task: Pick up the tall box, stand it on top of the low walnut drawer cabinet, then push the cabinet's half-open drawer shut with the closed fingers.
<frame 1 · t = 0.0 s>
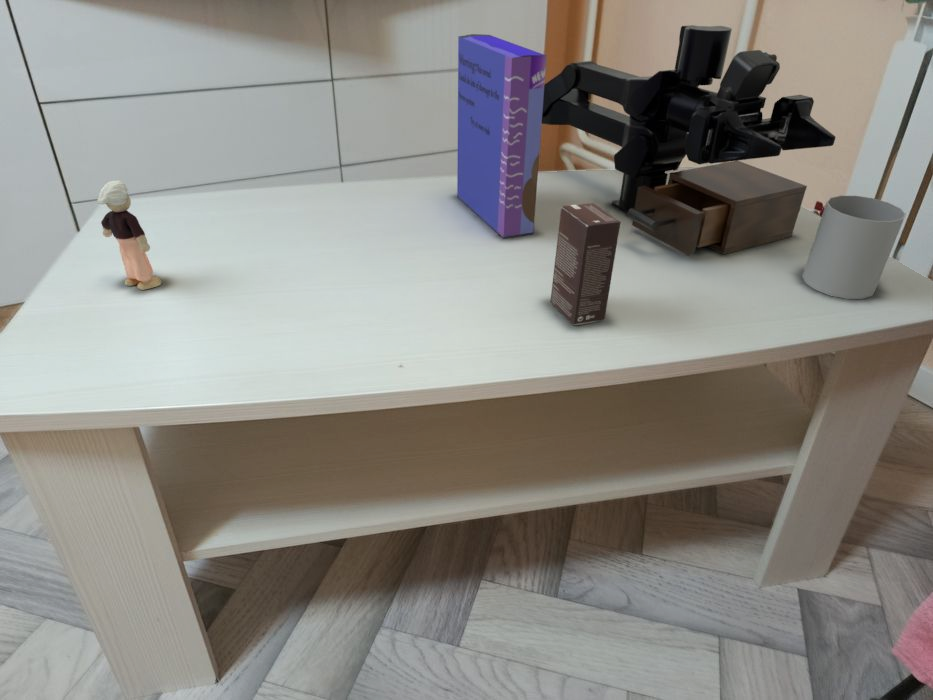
hand: (807, 146, 77), 17 cm above the table, tool horizontal, fingers open, 9 cm apart
cup: (837, 284, 84), on the table
box: (577, 312, 77), on the table
drawer: (684, 215, 92), point 4 cm above the table, slide at 5.0 cm
grandmother figurine: (140, 283, 81), on the table
cabinet: (724, 229, 98), on the table
cereal box: (493, 215, 101), on the table
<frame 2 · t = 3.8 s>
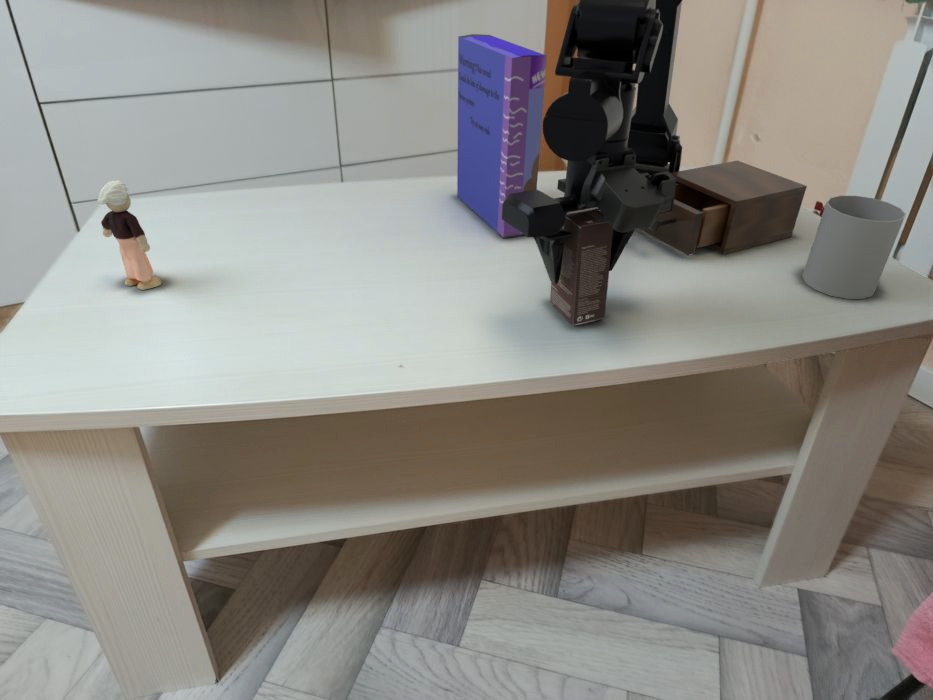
hand: (581, 276, 74), 5 cm above the table, tool pointing down, fingers closed on box, 7 cm apart
box: (577, 311, 77), on the table, touching gripper
everything else where it was.
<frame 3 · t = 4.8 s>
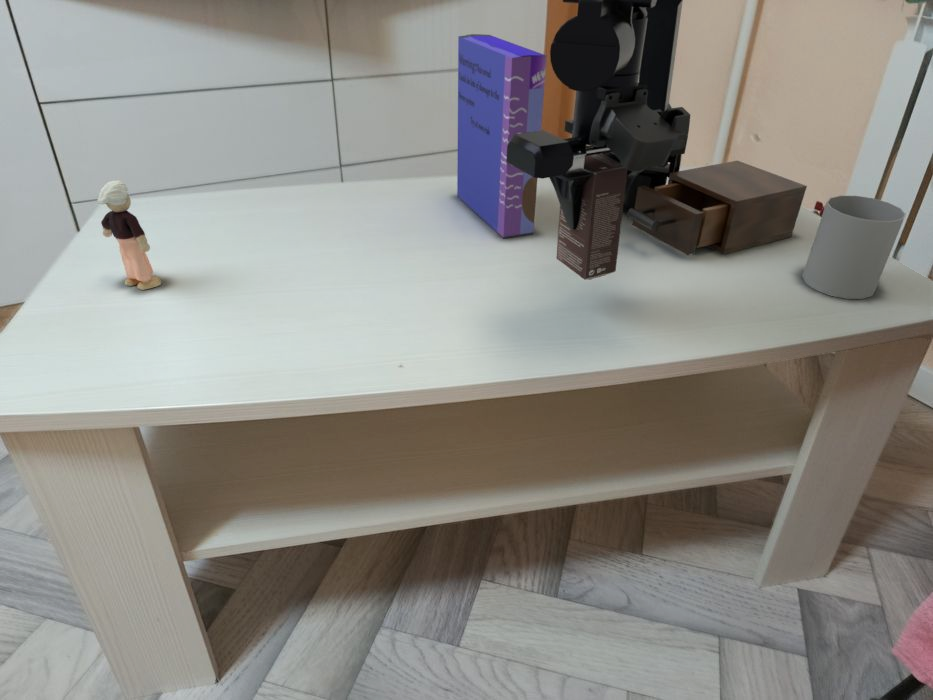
hand: (589, 224, 71), 11 cm above the table, tool pointing down, fingers closed on box, 4 cm apart
box: (585, 267, 74), point 5 cm above the table, touching gripper
everything else where it was.
when the fingers open (13 cm above the table, at t = 7.9 s): box stays where it is, resting on cabinet.
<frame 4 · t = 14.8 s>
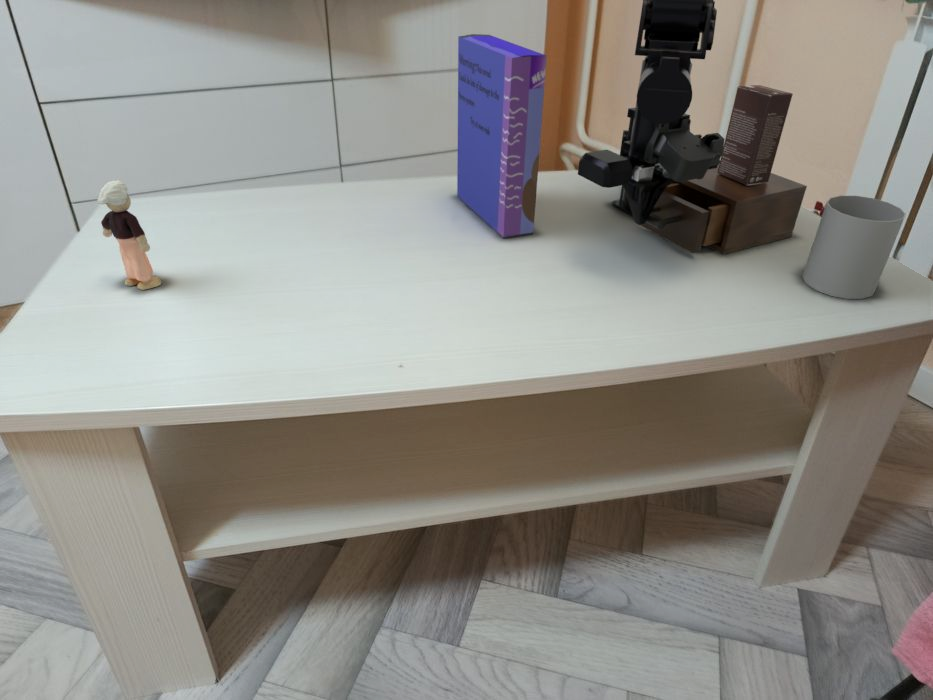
hand: (639, 223, 89), 4 cm above the table, tool pointing down, fingers closed
box: (742, 179, 94), point 7 cm above the table, touching cabinet
drawer: (690, 213, 93), point 4 cm above the table, slide at 4.0 cm, touching gripper
everything else where it was.
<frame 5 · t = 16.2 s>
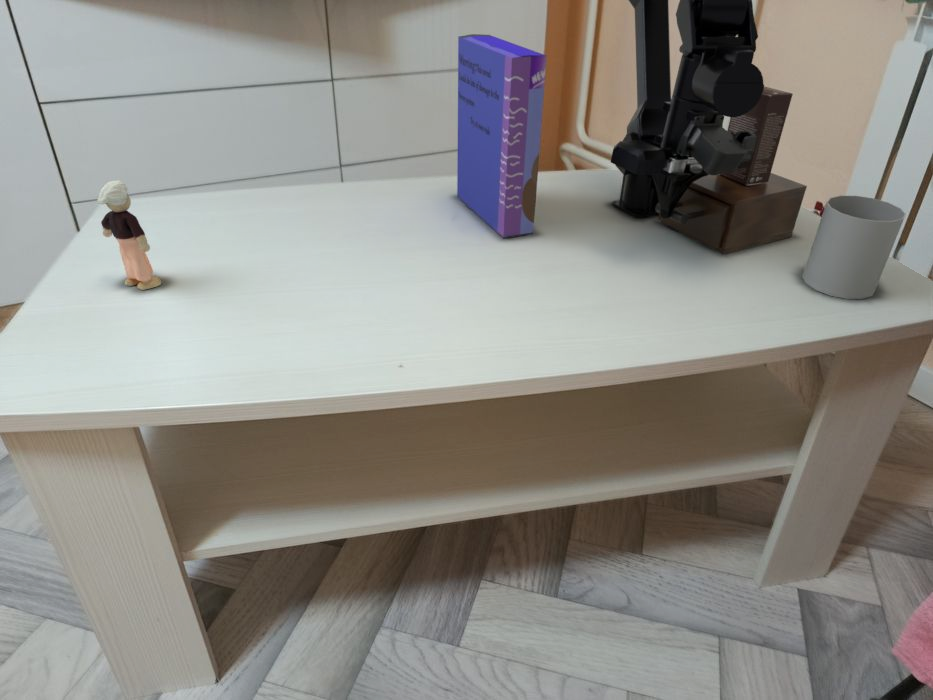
hand: (664, 217, 91), 4 cm above the table, tool pointing down, fingers closed, pressing on drawer
drawer: (711, 209, 94), point 4 cm above the table, slide at 0.0 cm, touching cabinet, gripper
everything else where it was.
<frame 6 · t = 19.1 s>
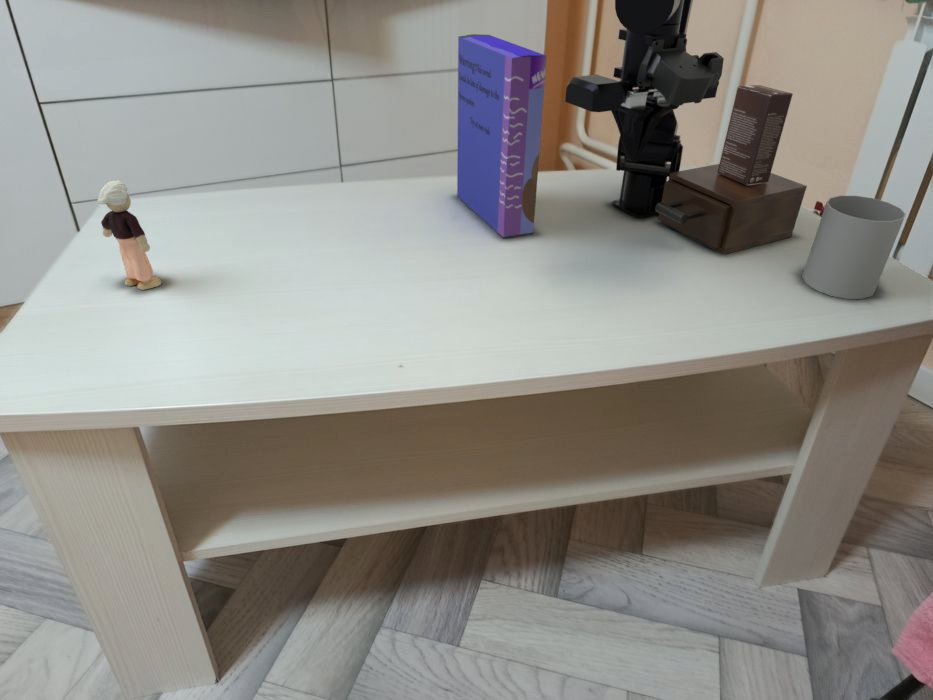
hand: (632, 160, 83), 13 cm above the table, tool pointing down, fingers closed
drawer: (711, 209, 94), point 4 cm above the table, slide at 0.0 cm, touching cabinet
everything else where it was.
at the end: box inside the target area on the cabinet (1.0 cm from its centre), point 7.4 cm above the cabinet's base; box tilted 0°; drawer slide at 0.0 cm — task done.
